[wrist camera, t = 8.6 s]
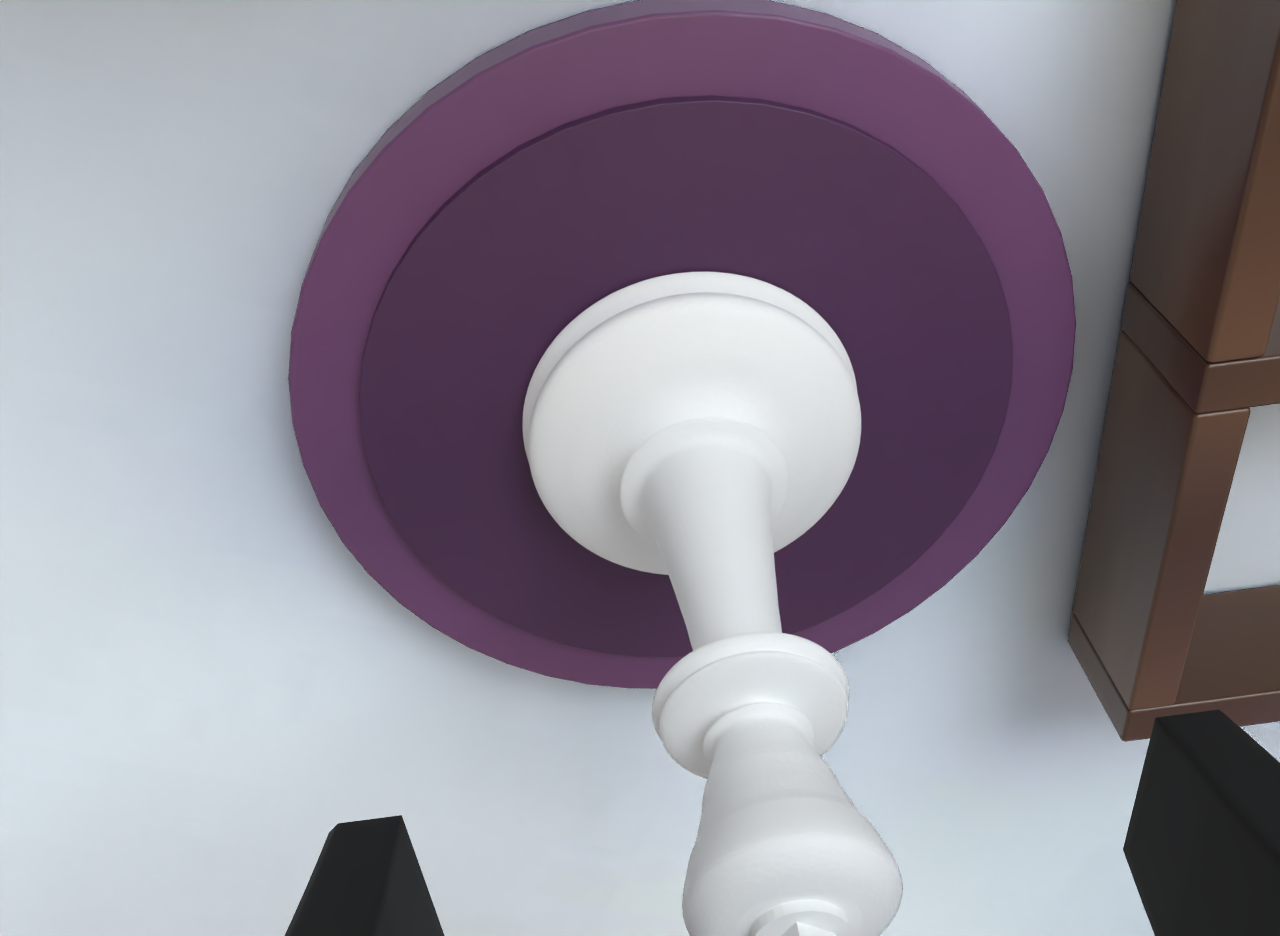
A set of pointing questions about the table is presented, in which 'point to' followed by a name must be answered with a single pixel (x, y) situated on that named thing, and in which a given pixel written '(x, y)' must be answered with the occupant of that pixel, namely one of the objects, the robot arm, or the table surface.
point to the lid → (662, 245)
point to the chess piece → (724, 572)
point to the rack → (1190, 390)
